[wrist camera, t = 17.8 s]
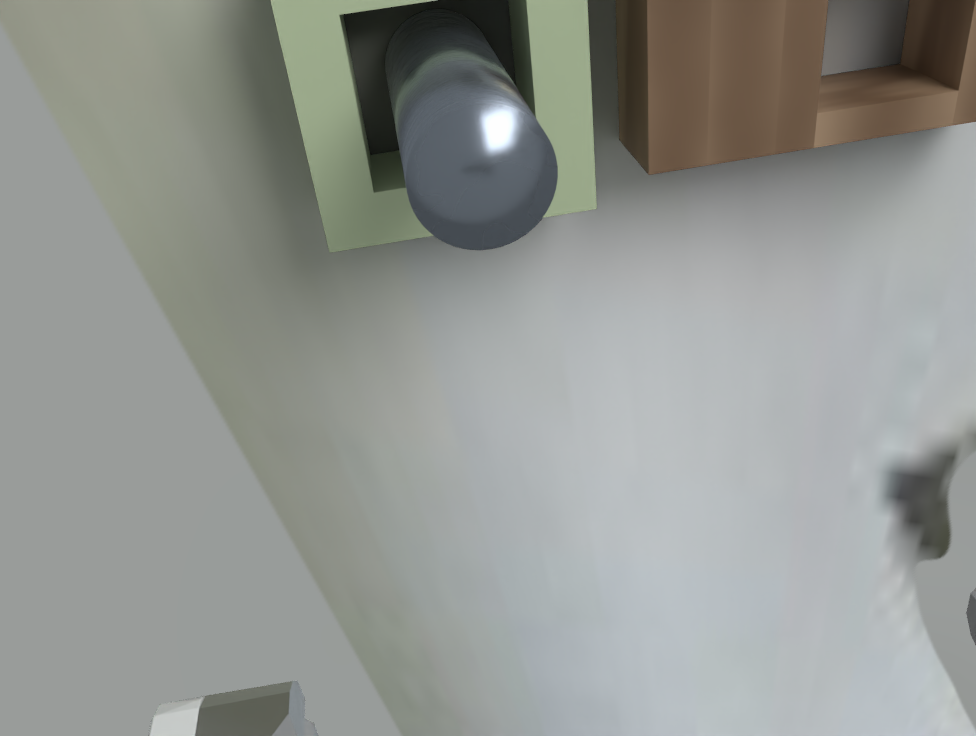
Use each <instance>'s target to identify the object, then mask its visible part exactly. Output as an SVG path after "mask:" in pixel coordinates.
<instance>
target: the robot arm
mask: <svg viewBox="0 0 976 736" xmlns="http://www.w3.org/2000/svg"><path fill="white" fill-rule="evenodd" d="M967 618H968V623H969V628H970V632H971V636H972V638H973V640H974V642H975V645H976V589H975V590H974V591H973V592H972V593H971V595H970V599H969V604H968V608H967ZM304 716H305V698H304V695H303V693H302V690H301V688H300V686H299V683H298V681H292V682H285V683H280V684H274V685H268V686H262V687H256V688H250V689H244V690H238V691H232V692H226V693H220V694H214V695H208V696H202V697H197V698H192V699H186V700H181V701H175V702H170V703H165V704H160V705H159V707H158V709H157V711H156V712H155V714H154V716H153V718H152V720H151V725H150V730H149V735H148V736H318V733H317V731H316V728H315V725H314V723H313V722H311V721H309V720H307V719H305V717H304Z"/></svg>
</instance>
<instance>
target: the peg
mask: <svg viewBox="0 0 976 736" xmlns="http://www.w3.org/2000/svg"><path fill="white" fill-rule="evenodd" d="M385 70H386V77H387V83H388V88H389V94H390V100H391V105H392V111H393V116H394V122H395V128H396V133H397V139H398V144H399V150H400V156H401V161H402V167H403V172H404V178H405V184H406V189H407V194H408V198H409V202H410V205H411V207H412V210H413V212H414V213H415V215H416V217H417V219H418V220H419V221H420V222H421V224H422V225H423V226H424V227H425V228H426V229H427V230H428V231H429V232H430V233H431V234H432V235H434V236H435V237H436V238H438V239H440V240H441V241H443V242H445V243H447V244H450V245H452V246H455V247H459V248H463V249H470V250H486V249H493V248H498V247H501V246H504V245H507V244H510V243H512V242H514V241H516V240H518V239H519V238H521V237H522V236H524V235H526V234H527V233H528V232H529V231H530V230H532V229H533V228H534V227H535V226H536V225H537V224H538V223H539V222H540V220H541V219H542V218H543V216H544V215H545V214H546V212H547V210H548V208H549V207H550V205H551V202H552V200H553V197H554V194H555V191H556V187H557V179H558V167H557V159H556V155H555V152H554V149H553V146H552V144H551V142H550V140H549V138H548V137H547V135H546V133H545V132H544V130H543V129H542V127H541V125H540V124H539V122H538V121H537V119H536V118H535V116H534V114H533V113H532V111H531V110H530V108H529V106H528V105H527V103H526V102H525V100H524V99H523V97H522V95H521V94H520V92H519V91H518V89H517V87H516V86H515V84H514V83H513V81H512V80H511V78H510V76H509V75H508V73H507V72H506V70H505V68H504V67H503V65H502V64H501V62H500V60H499V59H498V57H497V56H496V54H495V53H494V51H493V49H492V48H491V46H490V45H489V43H488V41H487V40H486V38H485V37H484V35H483V34H482V32H481V31H480V29H479V28H478V27H477V26H476V25H475V24H474V23H473V22H472V21H471V20H469V19H468V18H467V17H465V16H463V15H461V14H459V13H457V12H454V11H450V10H445V9H432V10H427V11H423V12H420V13H417V14H415V15H414V16H412V17H410V18H409V19H407V20H406V21H405V22H404V23H403V24H402V25H401V26H399V28H398V29H397V30H396V32H395V33H394V35H393V36H392V38H391V40H390V42H389V45H388V48H387V52H386V58H385Z"/></svg>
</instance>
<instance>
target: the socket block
mask: <svg viewBox="0 0 976 736" xmlns="http://www.w3.org/2000/svg"><path fill="white" fill-rule="evenodd" d="M827 9H828V0H616V35H617V70H618V106H619V140H620V141H621V142H622V144H623V145H624V146H625V147H626V148H627V150H628V151H629V152H630V153H631V154H632V155H633V157H634V158H635V159H636V160H637V161H638V163H639V164H640V165H641V166H642V167H643V169H644V170H645V171H646V172H647V173H648V174H649V175H651V174H657V173H663V172H669V171H676V170H682V169H688V168H694V167H700V166H706V165H712V164H719V163H725V162H731V161H737V160H743V159H749V158H755V157H762V156H768V155H774V154H780V153H786V152H792V151H798V150H805V149H811V148H817V147H823V146H829V145H835V144H841V143H848V142H854V141H860V140H866V139H872V138H878V137H884V136H891V135H897V134H903V133H909V132H915V131H921V130H927V129H934V128H940V127H946V126H952V125H958V124H964V123H970V122H976V0H909V7H908V14H907V21H906V27H905V34H904V41H903V48H902V55H901V61H900V64H896V65H889V66H883V67H877V68H870V69H864V70H858V71H851V72H845V73H839V74H832V75H826V76H821V70H822V60H823V50H824V40H825V30H826V20H827Z"/></svg>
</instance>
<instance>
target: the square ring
mask: <svg viewBox="0 0 976 736" xmlns="http://www.w3.org/2000/svg"><path fill="white" fill-rule="evenodd" d="M270 1H271V5H272V10H273V14H274V18H275V22H276V27H277V31H278V35H279V39H280V44H281V48H282V52H283V57H284V61H285V65H286V69H287V74H288V78H289V82H290V86H291V91H292V95H293V99H294V103H295V108H296V112H297V116H298V121H299V125H300V129H301V133H302V138H303V142H304V146H305V150H306V155H307V159H308V163H309V167H310V172H311V176H312V180H313V185H314V189H315V193H316V197H317V202H318V206H319V210H320V214H321V219H322V223H323V227H324V231H325V236H326V240H327V244H328V249H329V253H332V252H338V251H344V250H350V249H356V248H362V247H368V246H374V245H380V244H386V243H392V242H399V241H405V240H411V239H417V238H423V237H429V236H434V235H432V234H431V233H430V232H429V231H428V230H427V229H426V228H425V227H424V226H423V225H422V224H421V222H420V221H419V220H418V219H417V217H416V215H415V213H414V212H413V210H412V207H411V205H410V202H409V198H408V194H407V189H406V184H405V178H404V172H403V167H402V161H401V156H400V150H399V151H393V152H386V153H380V154H374V155H370V152H369V146H368V141H367V136H366V131H365V126H364V120H363V115H362V110H361V105H360V100H359V94H358V89H357V84H356V79H355V74H354V68H353V63H352V58H351V53H350V48H349V42H348V37H347V32H346V27H345V22H344V17H343V14H348V13H355V12H362V11H368V10H375V9H382V8H389V7H395V6H402V5H409V4H415V3H422V2H429V1H436V0H270ZM508 3H509V13H510V24H511V35H512V46H513V57H514V68H515V78H516V87H517V89H518V91H519V92H520V94H521V95H522V97H523V99H524V100H525V102H526V103H527V105H528V106H529V108H530V110H531V111H532V113H533V114H534V116H535V118H536V119H537V121H538V122H539V124H540V125H541V127H542V129H543V130H544V132H545V133H546V135H547V137H548V138H549V140H550V142H551V144H552V146H553V149H554V152H555V155H556V159H557V167H558V179H557V187H556V191H555V194H554V197H553V200H552V202H551V205H550V207H549V208H548V210H547V212H546V214H545V215H544V216H543V218H544V217H550V216H556V215H563V214H569V213H575V212H581V211H587V210H593V209H597V202H596V180H595V158H594V136H593V114H592V91H591V69H590V47H589V25H588V2H587V0H508Z"/></svg>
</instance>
